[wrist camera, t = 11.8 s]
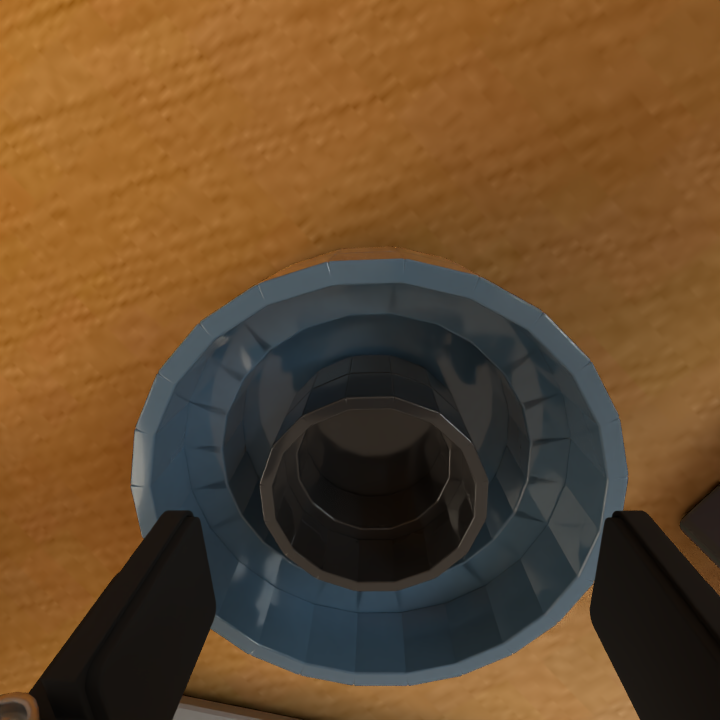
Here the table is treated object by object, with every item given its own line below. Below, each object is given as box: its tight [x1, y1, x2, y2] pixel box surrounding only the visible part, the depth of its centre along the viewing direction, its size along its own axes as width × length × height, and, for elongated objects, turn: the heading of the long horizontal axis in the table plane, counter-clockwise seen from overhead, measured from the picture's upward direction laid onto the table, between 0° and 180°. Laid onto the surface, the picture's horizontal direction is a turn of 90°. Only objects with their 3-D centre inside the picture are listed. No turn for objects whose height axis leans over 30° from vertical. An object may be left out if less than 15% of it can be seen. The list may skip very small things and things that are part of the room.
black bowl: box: [259, 355, 489, 592], centre depth 15 cm, size 7×7×4 cm
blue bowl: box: [131, 246, 628, 686], centre depth 15 cm, size 14×14×6 cm
